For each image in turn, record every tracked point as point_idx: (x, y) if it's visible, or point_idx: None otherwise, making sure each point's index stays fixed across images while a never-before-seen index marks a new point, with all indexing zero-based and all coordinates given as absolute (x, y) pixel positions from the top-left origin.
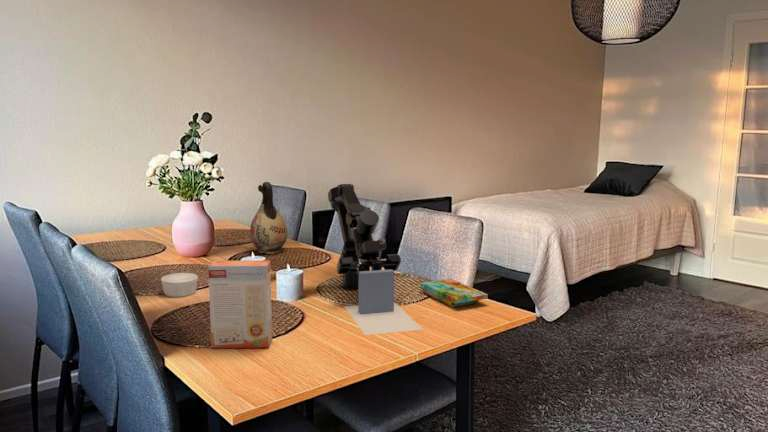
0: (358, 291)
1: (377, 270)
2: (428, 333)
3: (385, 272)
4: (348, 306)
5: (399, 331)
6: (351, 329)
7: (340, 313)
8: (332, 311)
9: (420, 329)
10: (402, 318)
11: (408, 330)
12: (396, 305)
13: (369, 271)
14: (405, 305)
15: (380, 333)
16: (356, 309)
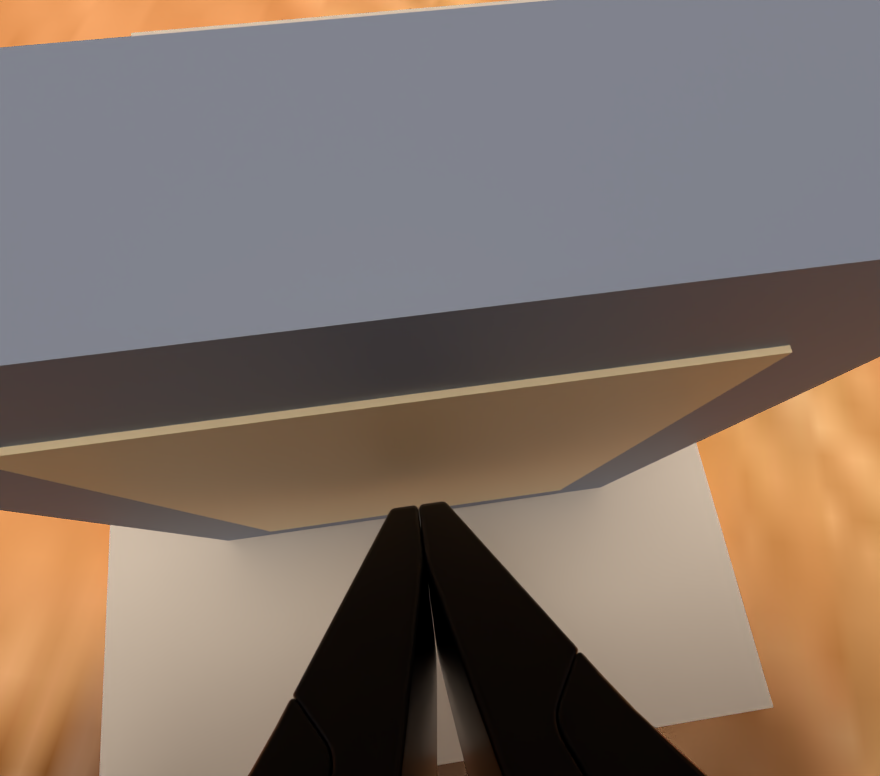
0: (708, 435)
1: (279, 299)
2: (120, 3)
3: (23, 67)
4: (715, 697)
5: (315, 19)
6: None
7: (779, 503)
8: (873, 580)
9: (151, 33)
10: None
11: (245, 26)
12: (125, 666)
13: (672, 187)
14: (5, 708)
15: (457, 7)
16: (619, 567)
